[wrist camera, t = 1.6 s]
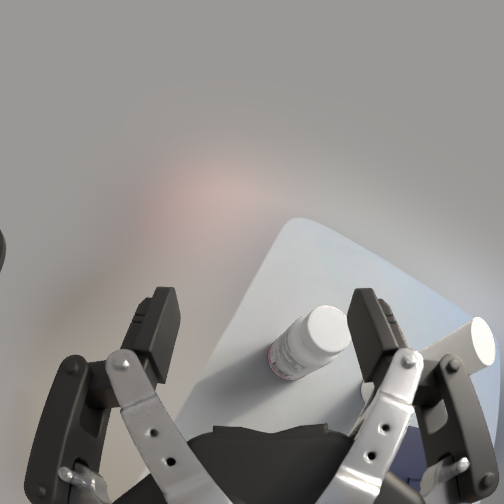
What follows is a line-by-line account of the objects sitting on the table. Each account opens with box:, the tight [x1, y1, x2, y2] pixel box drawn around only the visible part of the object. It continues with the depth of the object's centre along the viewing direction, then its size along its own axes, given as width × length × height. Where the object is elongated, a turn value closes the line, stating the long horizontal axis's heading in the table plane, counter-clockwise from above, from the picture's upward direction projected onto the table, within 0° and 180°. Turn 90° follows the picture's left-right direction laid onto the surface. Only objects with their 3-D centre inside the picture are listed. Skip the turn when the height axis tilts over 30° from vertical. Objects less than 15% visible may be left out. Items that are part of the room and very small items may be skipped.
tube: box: [361, 317, 495, 403], centre depth 20 cm, size 4×4×15 cm
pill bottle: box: [268, 305, 351, 380], centre depth 23 cm, size 5×5×8 cm
